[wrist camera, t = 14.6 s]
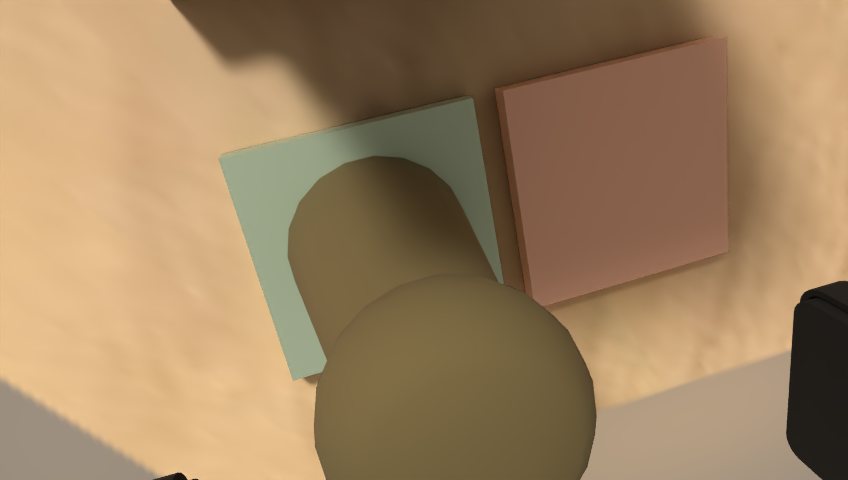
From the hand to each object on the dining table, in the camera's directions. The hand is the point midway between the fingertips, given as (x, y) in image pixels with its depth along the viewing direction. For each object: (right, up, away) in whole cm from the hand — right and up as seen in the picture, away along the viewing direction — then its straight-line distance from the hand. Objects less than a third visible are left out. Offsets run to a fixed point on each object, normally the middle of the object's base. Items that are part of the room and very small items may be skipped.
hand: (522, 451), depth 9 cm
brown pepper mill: (-3, +3, +11) cm, 12 cm away
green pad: (-3, +3, +11) cm, 12 cm away
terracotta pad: (+5, +6, +13) cm, 15 cm away
